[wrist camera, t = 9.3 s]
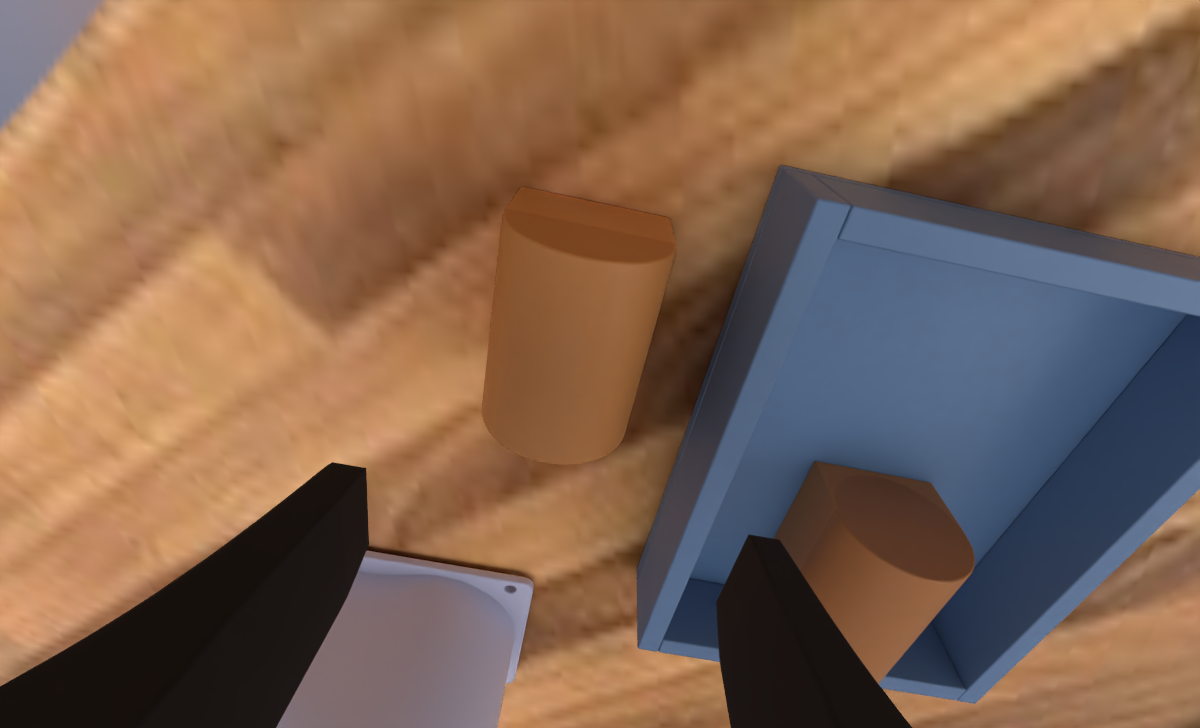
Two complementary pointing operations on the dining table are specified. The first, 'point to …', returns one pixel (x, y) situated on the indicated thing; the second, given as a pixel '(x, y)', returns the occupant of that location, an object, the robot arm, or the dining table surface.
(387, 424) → the dining table surface
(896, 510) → the cylinder
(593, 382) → the bread roll
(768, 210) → the tray
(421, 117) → the dining table surface
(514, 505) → the dining table surface
